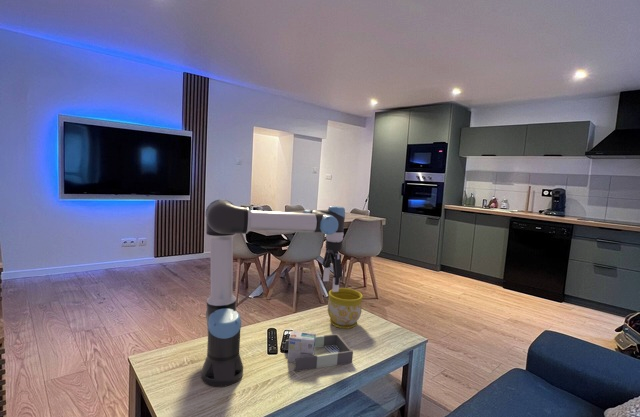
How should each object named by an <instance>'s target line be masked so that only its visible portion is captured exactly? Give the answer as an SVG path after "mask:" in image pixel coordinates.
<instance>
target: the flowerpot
mask: <svg viewBox="0 0 640 417" xmlns="http://www.w3.org/2000/svg"><path fill="white" fill-rule="evenodd" d="M363 297H364V295H363V294H362V293H361V291H358V290H356V289H353V288H348V287H339V292H332V289H330V290H329V291H328V302H327V313H328V317H329V321H330V323H331V324H332V325H333V326H334V327H336V328H338V329H343V330H349V329H353V328H354V327H355V326H356V325H357V324H358V321H359V319H360V317H361V315H362V308H363V306H362V302H363Z"/></svg>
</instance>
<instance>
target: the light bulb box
mask: <svg viewBox="0 0 640 417" xmlns="http://www.w3.org/2000/svg"><path fill="white" fill-rule="evenodd" d="M316 336H317V332H309V331H307V332H306V331H298V330H291V331H290V335H289V337H288V340H289V346H288V352H287V362H289V363H295V359H296V358H303V357H310V356H315V352H316V348H315V338H316Z"/></svg>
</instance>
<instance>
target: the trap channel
mask: <svg viewBox="0 0 640 417" xmlns="http://www.w3.org/2000/svg"><path fill="white" fill-rule="evenodd" d="M331 345H333V346H336V348H337V349H338V348H339V349H338V350H339V351H340V352H331V353H326V354H317V355H314V356H310V357H303V358H296V359H295V362H294V372H301V371H308V370H315V369H321V368H327V367H332V366H338V365H339V366H340V365H345V364H353V356H354V351H353V349H351V347H350V346H349V345H348V344H347V342H346V341H345V340H344V339H343V338H342V336H341V335H339V333H334V334H325V335H323V334H322V335H316V338H315V349H317V348H324V347H325V346H326V347H332V346H331ZM288 346H289V339H286V340H285V342H284V351H285V350H286V349H288Z"/></svg>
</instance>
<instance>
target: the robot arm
mask: <svg viewBox="0 0 640 417" xmlns="http://www.w3.org/2000/svg"><path fill="white" fill-rule="evenodd" d="M205 217H206V218H205V219H206V220H205V221H206V223H205V225H206V229H205V230H206V236H208V237H209V239H210V296H209V297H208V298H207V299H206V312H205V318H206V326H207V350H206V351H207V352H206V357H205V361H204V363H203V366H202V367H201V372H200V373H201V375H200V376H201V380H202V382H203V383H204V384H206V385H208V386H211V387H215V388H217V387H220V388H222V387H229V386H230V385H233V384H236V383H237V382H239V381H240V380H241V379H242V377H243V375H244V374H243V373H244V365H243V364H244V363H243V361H242V358H241V354H240V348H241V347H240V343H241V330H242V329H241V328H242V319H241V315H240V313H239V312H238V311H237V297H236V295H234V294H233V290H234V289H233V287H234V286H233V285H234V284H233V280H234V279H233V276H234V275H233V274H234V273H233V270H234V269H233V267H234V265H233V264H234V260H233V258H234V237H235V236H236V235H238V234H245V235H246V234H248V233H249V232H275V233H276V232H278V233H279V232H281V233H282V232H284V233H285V232H288V233H316V234H318V233H319V234H321V233H322V234H323V235H325V238H326V240H325V254H324V257H323V260H322V265H323V277H322V278H323V279H322V281H323V282H329V281H330V270H331V264H332V269H333V276H332V287H331V288H332V289H331V290H332V292H339V288H340V279H341V278H342V277H343V270H342V268H343V267H342V254H341V253H340V254H339V251H342V249H343V243H344V242H343V240H344V239H343V238H344V236H345V234H344V227H345V219H346V209H345V207H344V206H339V205H330V206H329V207H328V209H326V210H325V209H324V210H321V209H318V210H317V209H304V210H302V212H290V211H289V212H287V211H268V210H264V211H263V210H251V209H250V208H249V207H243V206H237V205H235V204H234V203H233V202H231V201H229V200H227V199H223V198H222V199H216V200H213V201H212V202H210V203H209V204H208V206H207V207H206V210H205Z"/></svg>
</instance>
